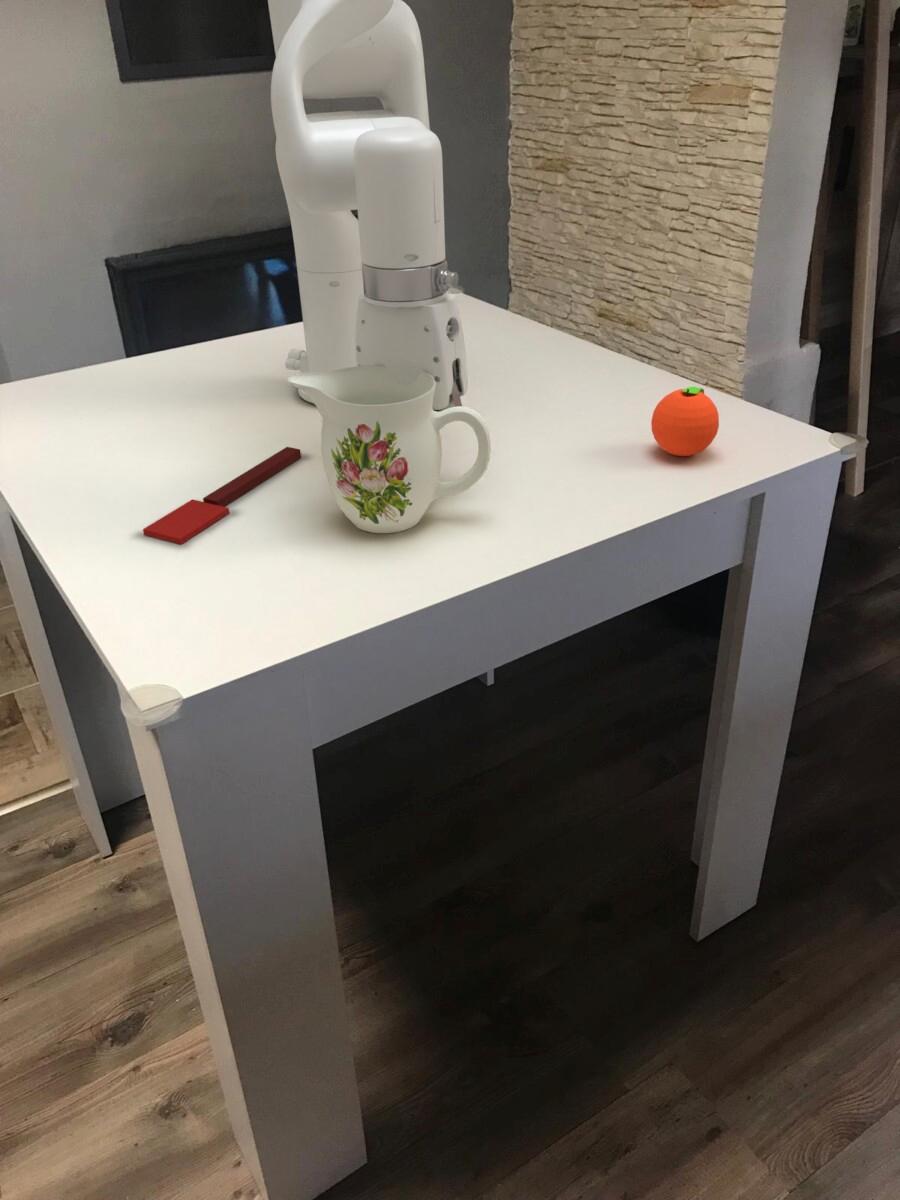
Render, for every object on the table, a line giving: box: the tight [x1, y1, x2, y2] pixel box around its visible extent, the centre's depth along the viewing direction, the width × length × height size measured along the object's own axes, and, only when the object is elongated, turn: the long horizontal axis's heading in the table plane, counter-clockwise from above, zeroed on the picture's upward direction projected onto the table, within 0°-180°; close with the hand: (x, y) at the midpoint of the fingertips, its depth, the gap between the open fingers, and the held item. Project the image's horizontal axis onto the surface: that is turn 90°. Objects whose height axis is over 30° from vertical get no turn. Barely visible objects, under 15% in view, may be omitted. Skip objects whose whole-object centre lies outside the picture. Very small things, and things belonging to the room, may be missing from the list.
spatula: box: [142, 446, 302, 545], centre depth 97 cm, size 5×21×1 cm, turn 152°
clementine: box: [650, 386, 720, 457], centre depth 101 cm, size 8×7×7 cm
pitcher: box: [286, 365, 491, 534], centre depth 88 cm, size 11×18×14 cm, turn 85°
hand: (414, 467), depth 96 cm, fingers closed
